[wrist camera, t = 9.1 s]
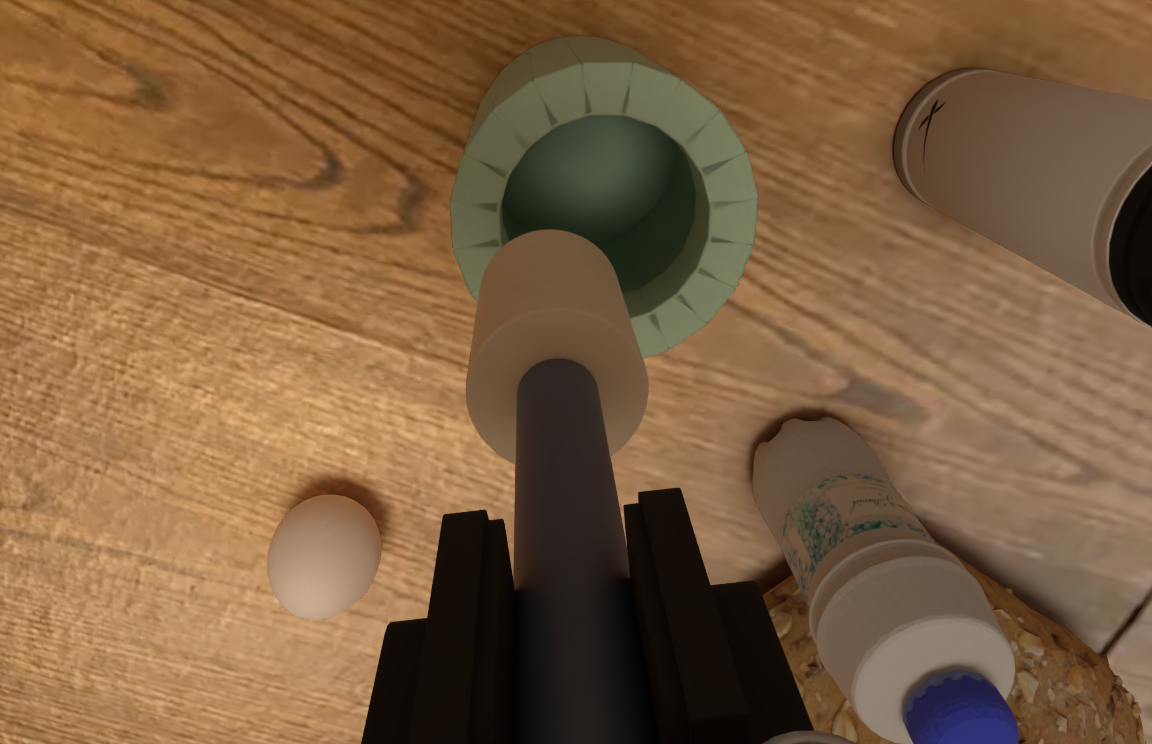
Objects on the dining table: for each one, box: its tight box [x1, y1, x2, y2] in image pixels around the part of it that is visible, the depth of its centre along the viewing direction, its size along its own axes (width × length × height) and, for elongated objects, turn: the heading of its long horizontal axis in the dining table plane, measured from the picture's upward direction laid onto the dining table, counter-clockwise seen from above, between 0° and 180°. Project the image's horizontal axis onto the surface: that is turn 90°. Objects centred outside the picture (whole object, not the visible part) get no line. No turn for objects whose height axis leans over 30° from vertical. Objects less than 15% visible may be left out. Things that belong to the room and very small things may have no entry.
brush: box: [466, 229, 659, 744], centre depth 15 cm, size 4×4×18 cm
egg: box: [267, 495, 382, 621], centre depth 44 cm, size 5×5×7 cm
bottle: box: [752, 417, 1019, 744], centre depth 38 cm, size 7×7×20 cm
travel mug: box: [894, 68, 1152, 328], centre depth 32 cm, size 6×7×20 cm
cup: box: [450, 36, 758, 358], centre depth 34 cm, size 9×9×14 cm
